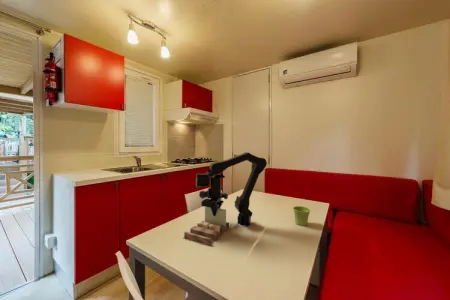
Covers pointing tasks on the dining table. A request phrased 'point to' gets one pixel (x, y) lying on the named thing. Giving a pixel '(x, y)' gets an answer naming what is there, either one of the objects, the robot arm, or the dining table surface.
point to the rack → (205, 234)
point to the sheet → (217, 219)
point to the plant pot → (301, 215)
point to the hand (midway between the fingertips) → (215, 215)
